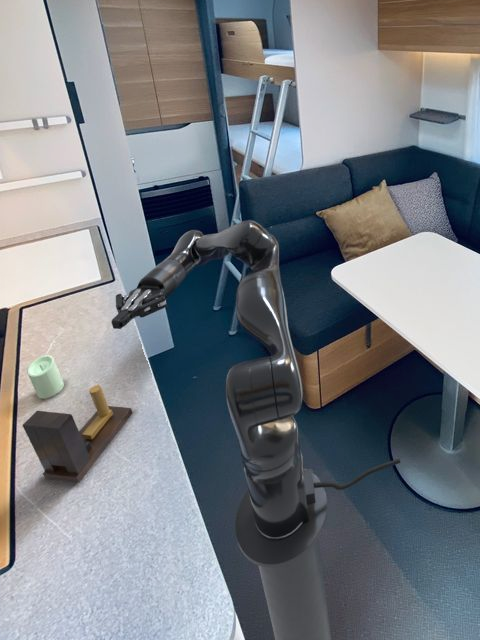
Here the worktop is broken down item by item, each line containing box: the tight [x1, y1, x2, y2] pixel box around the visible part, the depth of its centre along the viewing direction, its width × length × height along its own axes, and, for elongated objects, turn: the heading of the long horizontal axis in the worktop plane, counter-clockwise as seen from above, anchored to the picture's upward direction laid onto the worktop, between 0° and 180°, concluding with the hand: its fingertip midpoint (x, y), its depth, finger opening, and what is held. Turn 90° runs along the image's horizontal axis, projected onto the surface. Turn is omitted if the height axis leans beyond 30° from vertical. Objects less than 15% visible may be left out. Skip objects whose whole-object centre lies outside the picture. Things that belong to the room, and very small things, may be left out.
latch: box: [22, 405, 133, 484], centre depth 80 cm, size 15×7×14 cm, turn 173°
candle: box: [26, 354, 65, 400], centre depth 94 cm, size 5×5×8 cm
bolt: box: [82, 384, 113, 439], centre depth 83 cm, size 6×2×8 cm, turn 173°
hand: (115, 325), depth 88 cm, fingers closed
